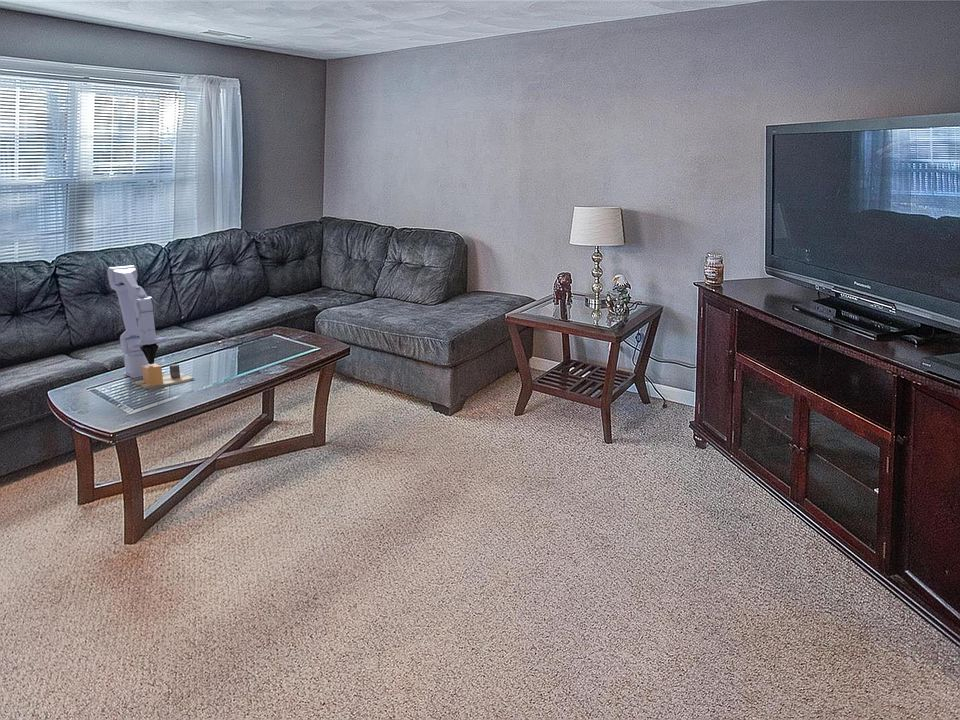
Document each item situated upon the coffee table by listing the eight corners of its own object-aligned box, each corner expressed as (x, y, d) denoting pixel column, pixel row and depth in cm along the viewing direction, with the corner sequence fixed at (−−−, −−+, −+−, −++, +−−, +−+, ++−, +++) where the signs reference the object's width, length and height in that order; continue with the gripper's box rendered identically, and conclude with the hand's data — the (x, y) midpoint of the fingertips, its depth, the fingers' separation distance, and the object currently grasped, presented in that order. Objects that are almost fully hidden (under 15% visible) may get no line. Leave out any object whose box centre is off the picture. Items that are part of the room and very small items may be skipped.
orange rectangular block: (143, 382, 286) (141, 366, 284) (156, 379, 290) (154, 363, 288) (150, 385, 283) (147, 368, 281) (163, 382, 287) (161, 365, 285)
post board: (135, 383, 287) (133, 369, 286) (179, 373, 300) (177, 360, 299) (149, 390, 280) (147, 375, 278) (194, 379, 293) (192, 365, 291)
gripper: (132, 334, 273) (136, 369, 277) (170, 327, 284) (174, 361, 287) (124, 331, 278) (128, 365, 281) (161, 324, 288) (165, 358, 292)
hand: (151, 363), depth 284 cm, fingers closed
